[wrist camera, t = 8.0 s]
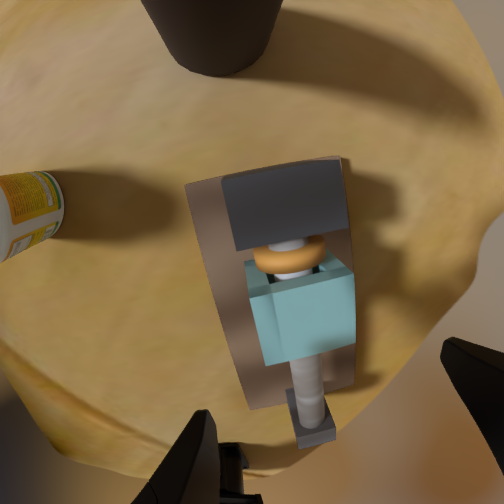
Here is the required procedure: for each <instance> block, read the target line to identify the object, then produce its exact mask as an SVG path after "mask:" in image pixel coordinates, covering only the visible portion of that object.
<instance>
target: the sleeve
mask: <svg viewBox="0 0 504 504" xmlns="http://www.w3.org/2000/svg"><path fill="white" fill-rule="evenodd" d="M325 249H326V258H325V259H324V261H323V262H321V263H320V264H319V265H317V266H315V267H313V268H312V272H313V274H311V275H307V276H303V277H298V278H294V279H290V280H285V281H281V282H276V283H275V278H274V274H268V273H264V272H261V271H260V270H258V269H257V267H256V264H255V259H253V260H248V261H244V265H245V272H246V279H247V286H248V292H249V299H250V303H251V307H252V312H253V316H254V320H255V324H256V328H257V333H258V337H259V341H260V345H261V349H262V353H263V357H264V362H265V366H269V365H274V364H278V363H283V362H287V361H291V360H295V359H300V358H304V357H308V356H311V355H315V354H319V353H323V352H326V351H330V350H333V349H337V348H340V347H343V346H347V345H350V344H353V343H356V312H355V284H354V273H353V272H352V271H350V270H349V269H348V268H347V267H346V266H345V265H344V264H343V263H342V262H341V261H340V260H339V259H338V258H336V257H335V256H334V255H333V254H332V253H331V252H330V251H329V250H328V249H327V248H326V247H325Z"/></svg>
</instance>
